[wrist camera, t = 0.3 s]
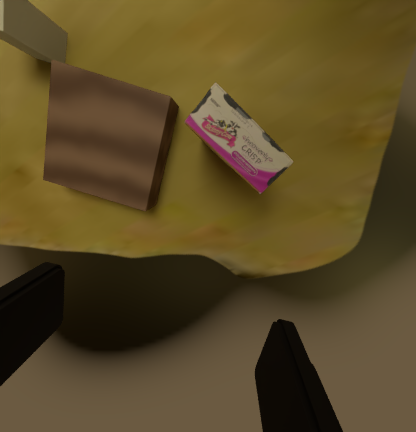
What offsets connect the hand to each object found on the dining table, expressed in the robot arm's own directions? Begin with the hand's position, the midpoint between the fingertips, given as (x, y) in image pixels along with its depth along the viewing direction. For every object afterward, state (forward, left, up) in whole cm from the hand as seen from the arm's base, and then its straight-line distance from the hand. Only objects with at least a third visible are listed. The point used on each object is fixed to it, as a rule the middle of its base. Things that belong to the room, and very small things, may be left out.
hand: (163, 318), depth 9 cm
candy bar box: (-9, +1, -31) cm, 33 cm away
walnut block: (-4, -19, -31) cm, 37 cm away
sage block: (-16, -33, -31) cm, 48 cm away
